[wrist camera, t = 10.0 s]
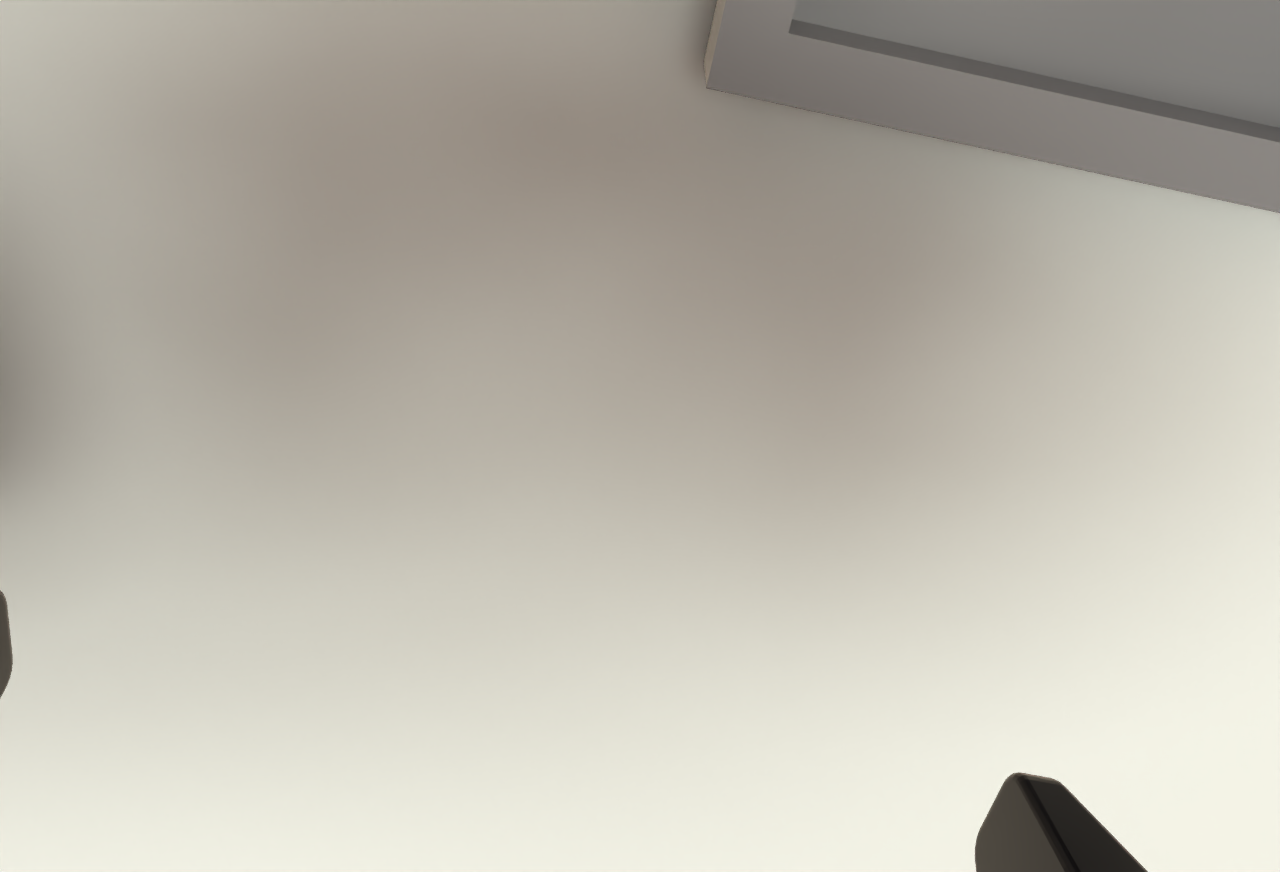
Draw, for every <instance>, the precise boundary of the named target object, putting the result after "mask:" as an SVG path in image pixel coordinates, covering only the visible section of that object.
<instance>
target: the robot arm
mask: <svg viewBox="0 0 1280 872" xmlns="http://www.w3.org/2000/svg"><path fill="white" fill-rule="evenodd" d="M12 664H13V657H12V647H11V638H10V629H9V619H8V610H7V603H6V598H5V596H4V594H3V593H2V592H1V591H0V698H1V696H2V694H3V692H4V690H5V688H6V686H7V684H8V681H9V679H10V675H11V671H12ZM975 863H976V872H1148V871H1147V870H1146V869H1145V868H1144V867H1143V866H1142V865H1141V864H1140V863H1139V862H1138V861H1137V860H1136V859H1135V858H1134V857H1133V856H1132V855H1131V854H1130V853H1129V852H1128V851H1127V850H1126V849H1125V848H1124V847H1123V846H1122V845H1121V844H1120V843H1119V842H1118V841H1117V840H1116V839H1115V837H1114V836H1113V835H1112V834H1111V833H1110V832H1109V831H1108V830H1107V829H1106V828H1105V827H1104V826H1103V825H1102V824H1101V823H1100V822H1099V821H1098V820H1097V819H1096V818H1095V817H1094V816H1093V815H1092V814H1091V813H1090V812H1089V811H1088V810H1087V809H1086V808H1085V807H1084V806H1083V805H1082V804H1081V803H1080V802H1079V801H1078V800H1077V798H1076V797H1075V796H1074V795H1073V794H1072V793H1071V792H1070V791H1069V790H1068V789H1067V788H1066V787H1065V786H1064V785H1062V784H1061V783H1060V782H1059V781H1057V780H1055V779H1052V778H1048V777H1042V776H1037V775H1031V774H1026V773H1013V774H1012V775H1010V776H1009V777H1008V778H1007V779H1006V780H1005V782H1004V783H1003V785H1002V787H1001V789H1000V791H999V793H998V795H997V797H996V799H995V801H994V803H993V805H992V807H991V808H990V810H989V812H988V814H987V816H986V818H985V820H984V822H983V824H982V826H981V828H980V830H979V833H978V836H977V840H976V846H975Z"/></svg>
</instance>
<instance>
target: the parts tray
mask: <svg viewBox="0 0 1280 872" xmlns="http://www.w3.org/2000/svg"><path fill="white" fill-rule="evenodd" d="M704 69H705V80H706V88H708V89H713V90H718V91H722V92H727V93H731V94H736V95H741V96H745V97H750V98H754V99H759V100H764V101H768V102H773V103H777V104H782V105H787V106H791V107H796V108H800V109H805V110H809V111H814V112H819V113H823V114H828V115H832V116H837V117H842V118H846V119H851V120H855V121H860V122H865V123H869V124H874V125H878V126H883V127H888V128H892V129H897V130H901V131H906V132H910V133H915V134H920V135H924V136H929V137H933V138H938V139H943V140H947V141H952V142H956V143H961V144H966V145H970V146H975V147H979V148H984V149H989V150H993V151H998V152H1002V153H1007V154H1011V155H1016V156H1021V157H1025V158H1030V159H1034V160H1039V161H1044V162H1048V163H1053V164H1057V165H1062V166H1067V167H1071V168H1076V169H1080V170H1085V171H1090V172H1094V173H1099V174H1103V175H1108V176H1112V177H1117V178H1122V179H1126V180H1131V181H1135V182H1140V183H1145V184H1149V185H1154V186H1158V187H1163V188H1168V189H1172V190H1177V191H1181V192H1186V193H1191V194H1195V195H1200V196H1204V197H1209V198H1213V199H1218V200H1223V201H1227V202H1232V203H1236V204H1241V205H1246V206H1250V207H1255V208H1259V209H1264V210H1269V211H1273V212H1278V213H1280V0H717V3H716V7H715V12H714V17H713V21H712V26H711V30H710V35H709V39H708V44H707V48H706V53H705V57H704Z"/></svg>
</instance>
